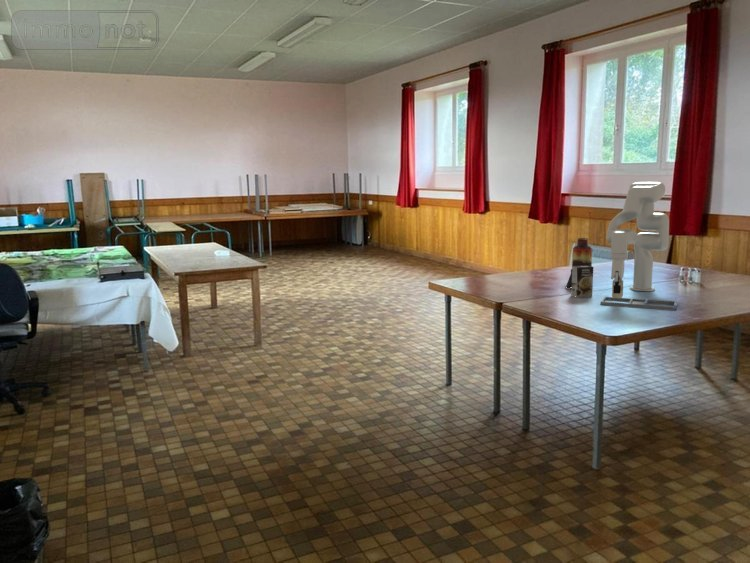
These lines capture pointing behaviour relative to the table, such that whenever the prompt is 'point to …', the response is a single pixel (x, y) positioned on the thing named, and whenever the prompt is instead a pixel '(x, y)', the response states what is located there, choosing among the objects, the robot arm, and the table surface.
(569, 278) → the phone stand
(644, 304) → the grey flat frame
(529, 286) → the table surface
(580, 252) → the vase
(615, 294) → the tan wooden block
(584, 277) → the coffee box
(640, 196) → the robot arm
